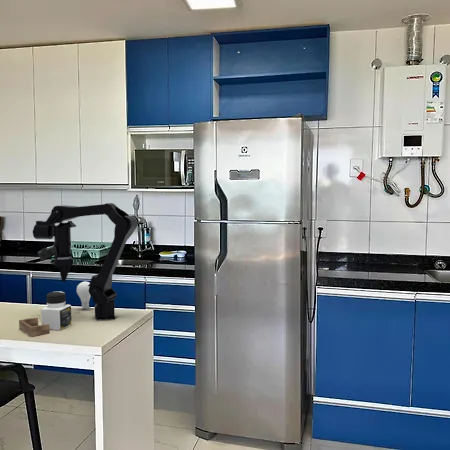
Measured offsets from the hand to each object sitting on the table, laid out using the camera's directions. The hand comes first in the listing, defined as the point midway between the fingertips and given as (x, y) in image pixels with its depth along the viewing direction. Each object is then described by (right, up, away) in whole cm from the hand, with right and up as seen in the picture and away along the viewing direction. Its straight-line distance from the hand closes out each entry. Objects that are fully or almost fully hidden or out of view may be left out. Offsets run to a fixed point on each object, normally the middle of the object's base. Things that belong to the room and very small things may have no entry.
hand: (63, 281), depth 176 cm
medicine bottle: (+2, -14, -13) cm, 20 cm away
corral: (-4, -14, -18) cm, 23 cm away
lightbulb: (+5, -12, +11) cm, 17 cm away
